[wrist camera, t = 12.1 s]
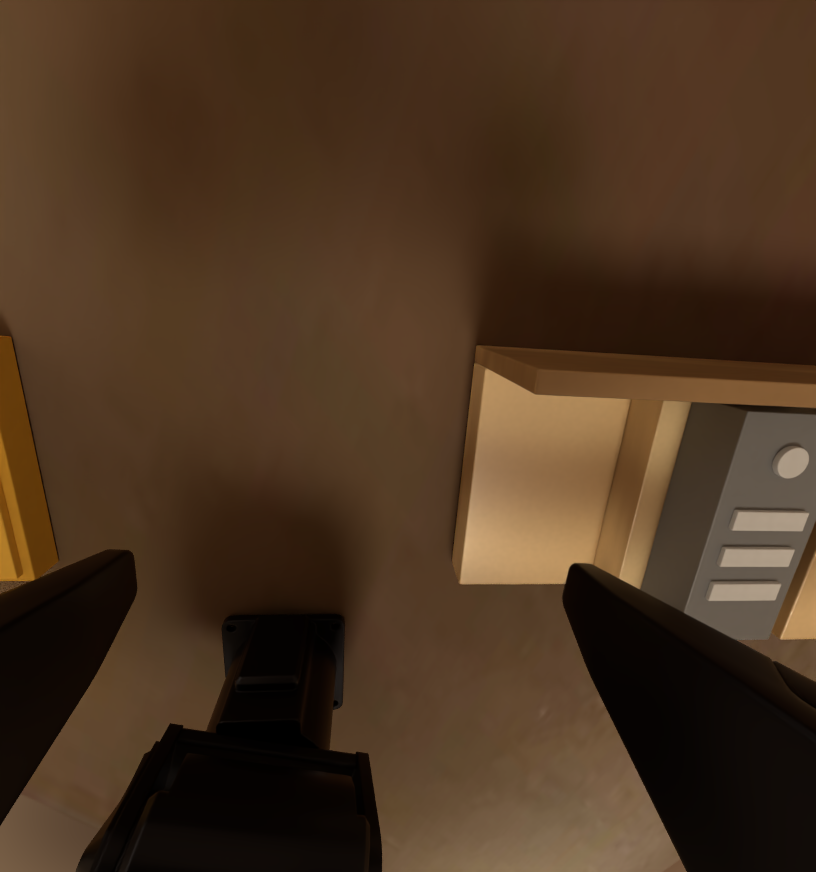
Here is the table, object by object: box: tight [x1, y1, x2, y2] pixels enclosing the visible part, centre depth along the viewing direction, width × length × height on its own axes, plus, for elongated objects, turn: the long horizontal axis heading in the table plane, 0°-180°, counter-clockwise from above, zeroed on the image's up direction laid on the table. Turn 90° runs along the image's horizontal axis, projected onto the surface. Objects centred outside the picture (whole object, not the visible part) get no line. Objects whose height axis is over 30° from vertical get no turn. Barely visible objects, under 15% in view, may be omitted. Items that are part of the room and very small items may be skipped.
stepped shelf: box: [452, 345, 816, 639], centre depth 19 cm, size 12×21×8 cm, turn 86°
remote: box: [640, 402, 816, 640], centre depth 17 cm, size 10×4×3 cm, turn 176°
